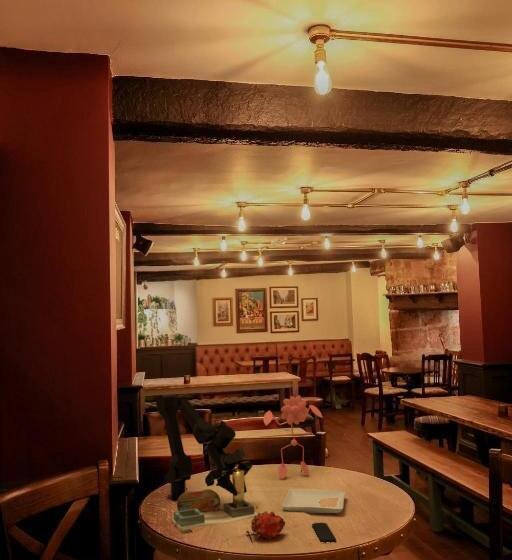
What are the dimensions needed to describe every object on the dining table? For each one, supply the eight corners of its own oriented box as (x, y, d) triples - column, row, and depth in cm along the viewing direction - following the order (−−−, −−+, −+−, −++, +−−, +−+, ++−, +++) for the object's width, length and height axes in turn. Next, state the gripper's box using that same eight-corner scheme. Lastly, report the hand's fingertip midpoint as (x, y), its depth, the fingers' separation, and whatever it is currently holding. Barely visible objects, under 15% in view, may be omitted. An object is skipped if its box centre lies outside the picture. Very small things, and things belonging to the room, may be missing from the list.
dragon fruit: (247, 545, 174) (282, 544, 179) (258, 535, 169) (294, 534, 173) (243, 517, 180) (277, 517, 184) (254, 506, 174) (289, 506, 179)
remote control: (337, 545, 171) (326, 526, 186) (336, 539, 171) (326, 520, 186) (320, 546, 170) (311, 527, 185) (320, 540, 170) (311, 521, 185)
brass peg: (231, 511, 198) (230, 470, 199) (241, 510, 200) (241, 469, 201) (235, 515, 195) (235, 473, 196) (246, 513, 196) (245, 471, 197)
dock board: (171, 522, 192) (171, 511, 192) (247, 509, 204) (247, 498, 204) (182, 533, 181) (182, 521, 182) (262, 518, 193) (261, 508, 194)
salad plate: (343, 518, 193) (343, 507, 193) (281, 515, 197) (280, 505, 197) (346, 499, 214) (345, 490, 214) (289, 497, 218) (289, 488, 218)
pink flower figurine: (261, 477, 246) (260, 395, 248) (317, 472, 253) (315, 392, 255) (273, 487, 231) (272, 400, 233) (331, 481, 239) (330, 396, 241)
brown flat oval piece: (177, 519, 195) (177, 493, 196) (176, 516, 198) (176, 491, 199) (220, 514, 199) (220, 489, 200) (218, 511, 202) (218, 486, 203)
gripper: (209, 446, 195) (232, 485, 187) (248, 438, 209) (271, 474, 200) (195, 466, 200) (217, 505, 191) (233, 457, 213) (255, 493, 205)
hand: (241, 493), depth 197 cm, fingers closed on brass peg, 4 cm apart
